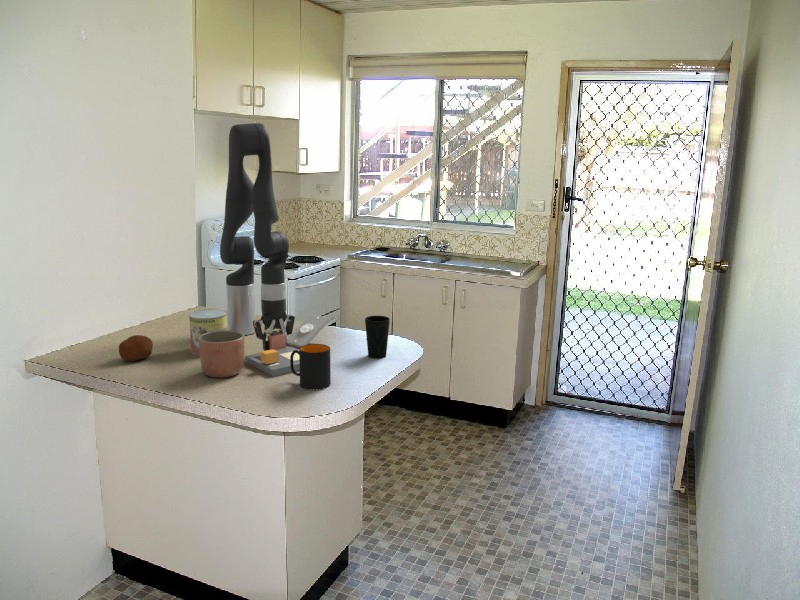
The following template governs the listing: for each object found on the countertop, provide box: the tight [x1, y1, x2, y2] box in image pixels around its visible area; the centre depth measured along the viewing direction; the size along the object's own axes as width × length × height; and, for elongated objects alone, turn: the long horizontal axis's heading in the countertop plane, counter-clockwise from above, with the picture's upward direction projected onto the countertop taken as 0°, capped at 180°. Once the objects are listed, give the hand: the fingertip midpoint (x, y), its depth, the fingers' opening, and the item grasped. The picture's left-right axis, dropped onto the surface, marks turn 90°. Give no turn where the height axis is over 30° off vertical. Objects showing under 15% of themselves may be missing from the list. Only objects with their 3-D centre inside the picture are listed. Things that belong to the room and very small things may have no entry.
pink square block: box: [263, 329, 287, 351], centre depth 210 cm, size 5×5×7 cm
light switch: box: [286, 313, 331, 349], centre depth 223 cm, size 8×6×14 cm
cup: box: [364, 315, 391, 360], centre depth 208 cm, size 8×8×12 cm
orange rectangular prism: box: [260, 349, 279, 364], centre depth 194 cm, size 3×4×3 cm
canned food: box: [188, 309, 228, 357], centre depth 211 cm, size 11×11×12 cm
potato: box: [118, 334, 154, 362], centre depth 202 cm, size 8×11×8 cm
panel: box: [244, 346, 300, 377], centre depth 200 cm, size 16×16×2 cm
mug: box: [290, 343, 332, 391], centre depth 183 cm, size 8×12×10 cm
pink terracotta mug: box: [198, 330, 245, 379], centre depth 190 cm, size 12×12×11 cm
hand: (275, 349), depth 211 cm, fingers closed on pink square block, 5 cm apart
